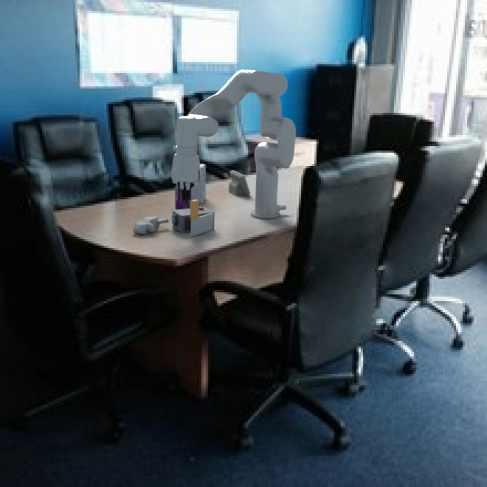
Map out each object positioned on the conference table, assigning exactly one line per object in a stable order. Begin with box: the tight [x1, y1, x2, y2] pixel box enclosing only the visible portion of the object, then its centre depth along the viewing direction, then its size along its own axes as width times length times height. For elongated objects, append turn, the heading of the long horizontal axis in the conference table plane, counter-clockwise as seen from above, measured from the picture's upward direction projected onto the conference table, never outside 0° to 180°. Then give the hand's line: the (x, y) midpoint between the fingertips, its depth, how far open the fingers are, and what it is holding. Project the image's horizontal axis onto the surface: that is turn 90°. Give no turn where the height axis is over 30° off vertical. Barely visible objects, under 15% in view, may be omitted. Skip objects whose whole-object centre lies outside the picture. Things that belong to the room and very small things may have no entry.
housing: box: [171, 206, 215, 234], centre depth 227 cm, size 15×9×8 cm, turn 118°
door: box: [190, 199, 215, 237], centre depth 220 cm, size 13×2×14 cm, turn 143°
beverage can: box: [174, 182, 191, 210], centre depth 253 cm, size 7×7×12 cm
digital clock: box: [228, 169, 251, 197], centre depth 289 cm, size 16×9×11 cm, turn 12°
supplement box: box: [191, 163, 207, 204], centre depth 271 cm, size 10×9×17 cm
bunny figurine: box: [132, 215, 169, 236], centre depth 224 cm, size 10×5×15 cm
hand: (186, 199), depth 217 cm, fingers closed
